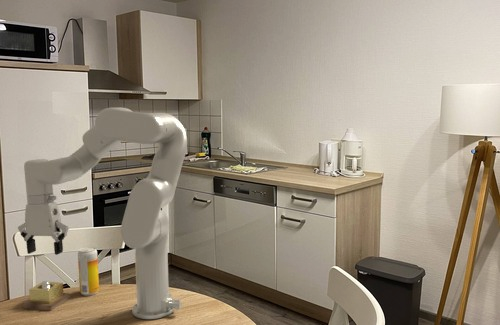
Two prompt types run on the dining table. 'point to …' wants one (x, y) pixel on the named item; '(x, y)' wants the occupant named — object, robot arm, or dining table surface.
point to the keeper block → (46, 305)
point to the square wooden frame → (46, 293)
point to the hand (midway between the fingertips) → (45, 252)
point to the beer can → (88, 271)
